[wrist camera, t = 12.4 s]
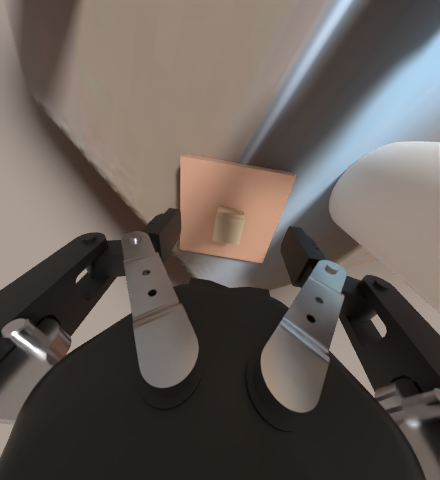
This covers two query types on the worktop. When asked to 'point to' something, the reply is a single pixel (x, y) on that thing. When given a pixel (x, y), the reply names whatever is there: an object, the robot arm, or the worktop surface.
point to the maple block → (229, 225)
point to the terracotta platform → (230, 205)
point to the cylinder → (396, 211)
